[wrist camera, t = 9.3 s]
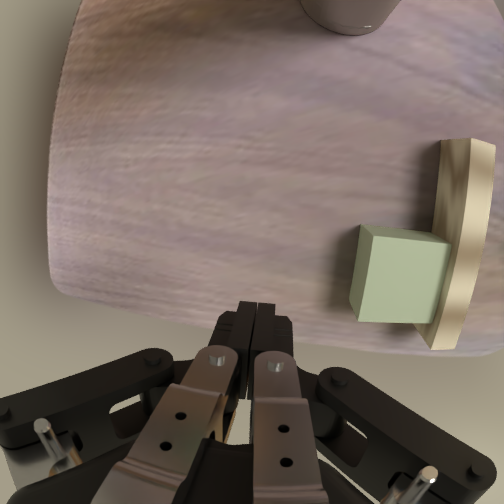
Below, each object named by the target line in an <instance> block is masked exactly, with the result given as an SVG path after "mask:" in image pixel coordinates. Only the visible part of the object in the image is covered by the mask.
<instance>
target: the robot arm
mask: <svg viewBox="0 0 504 504" xmlns="http://www.w3.org/2000/svg"><path fill="white" fill-rule="evenodd" d="M300 1H301V4H302V6H303V8H304V10H305V11H306V13H307V14H308V15H309V16H310V17H311V18H312V19H313V20H314V21H315V22H317V23H318V24H320V25H321V26H323V27H325V28H326V29H329V30H331V31H334V32H337V33H341V34H345V35H362V34H367V33H370V32H373V31H374V30H376V29H378V28H379V27H380V26H381V25H382V24H383V23H384V21H385V20H386V19H387V17H388V16H389V15H390V13H391V12H392V11H393V10H394V9H395V7H396V6H397V5H398V3H399V2H400V1H401V0H300ZM247 385H248V393H247V399H248V400H251V411H250V433H249V436H250V437H249V444H242V445H228V444H226V443H227V440H228V437H229V434H230V430H231V427H232V424H233V421H234V418H235V414H236V408H237V405H238V401H239V399H245V397H246V391H247ZM138 394H139V395H140V400H141V401H139V402H136V403H134V404H132V405H129V406H127V407H125V408H122V409H120V410H118V411H115V412H113V413H111V414H109V411H110V409H111V408H112V406H114V405H115V404H117V403H119V402H122V401H124V400H127V399H128V398H131V397H134V396H136V395H138ZM347 421H348V422H349V423H351V424H352V425H353V426H355V427H356V428H357V429H359V430H360V431H361V432H362V433H364V434H365V436H366V437H367V439H366V438H365V437H364V436H362V435H361V434H360V433H359V432H357V431H356V430H355V429H353V428H352V427H351V426H350V425H348V424H347ZM0 447H1V449H2V450H3V452H4V454H5V457H6V461H7V464H8V467H9V470H10V472H11V475H12V478H13V481H14V484H15V486H16V489H17V491H16V492H15V493H14V494H13V495H12V496H11V498H10V499H9V500H8V502H7V504H374V503H373V502H372V501H371V500H369V499H368V498H367V497H366V496H365V495H364V494H363V493H361V492H360V491H359V490H358V489H357V488H356V487H355V486H353V485H352V484H351V483H350V482H349V481H348V480H347V479H346V478H345V477H344V476H343V475H341V474H340V473H339V472H338V471H337V470H336V469H335V468H333V467H332V466H331V465H329V464H328V463H326V462H324V461H322V460H320V459H318V457H317V451H316V449H317V450H318V451H319V452H320V453H321V454H323V455H324V456H325V457H326V458H327V459H328V460H329V461H331V462H332V463H333V464H334V465H335V466H336V467H337V468H339V469H340V470H341V471H342V472H343V473H344V474H346V475H347V476H348V477H349V478H350V479H352V480H353V481H354V482H355V483H356V484H358V485H359V486H360V487H361V488H363V489H364V490H365V491H366V492H367V493H369V494H370V495H371V496H373V497H374V498H375V499H376V500H378V501H379V502H380V504H474V503H475V502H476V501H477V500H478V499H479V498H480V497H481V496H482V495H483V494H484V493H485V492H486V491H487V490H488V489H489V488H490V487H491V486H492V485H493V483H494V482H495V480H496V476H497V471H496V467H495V465H494V463H493V462H492V460H491V459H489V458H488V457H487V456H485V455H483V454H482V453H480V452H478V451H477V450H475V449H473V448H472V447H470V446H468V445H467V444H465V443H463V442H462V441H459V440H458V439H457V438H455V437H453V436H452V435H450V434H448V433H447V432H445V431H444V430H442V429H440V428H439V427H437V426H436V425H434V424H432V423H431V422H429V421H427V420H426V419H424V418H423V417H421V416H419V415H418V414H416V413H415V412H413V411H412V410H410V409H408V408H407V407H405V406H404V405H402V404H401V403H399V402H398V401H396V400H395V399H393V398H392V397H390V396H389V395H387V394H386V393H384V392H382V391H381V390H380V389H378V388H376V387H375V386H373V385H372V384H370V383H369V382H367V381H366V380H364V379H363V378H361V377H360V376H358V375H357V374H356V373H354V372H352V371H351V370H349V369H346V368H342V367H330V368H327V369H324V370H323V371H322V372H320V374H319V375H316V374H312V373H309V372H306V371H304V370H302V369H300V368H299V367H298V366H297V365H296V361H295V359H294V358H293V331H292V322H291V321H290V319H289V318H288V317H287V316H277V315H275V304H270V303H258V308H257V302H247V301H240V302H239V306H238V309H237V312H233V311H226V312H224V313H223V314H222V315H220V316H219V318H218V321H217V324H216V326H215V329H214V331H213V334H212V337H211V339H210V342H209V344H208V346H207V347H204V348H202V349H201V350H200V351H199V352H198V353H197V355H196V357H195V359H192V360H185V361H173V356H172V355H171V354H170V353H169V352H168V351H166V350H163V349H159V348H148V349H145V350H141V351H139V352H136V353H133V354H131V355H128V356H125V357H122V358H120V359H117V360H114V361H112V362H109V363H106V364H103V365H100V366H98V367H95V368H92V369H89V370H86V371H84V372H81V373H78V374H75V375H72V376H69V377H66V378H63V379H60V380H57V381H54V382H51V383H48V384H45V385H42V386H39V387H36V388H33V389H29V390H26V391H23V392H20V393H16V394H13V395H10V396H6V397H3V398H0Z"/></svg>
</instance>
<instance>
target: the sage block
mask: <svg viewBox="0 0 504 504" xmlns="http://www.w3.org/2000/svg"><path fill="white" fill-rule="evenodd" d="M451 246H452V244H450V243H449V242H447V241H445V240H443V239H442V238H440V237H438V236H436V235H435V234H433V233H431V232H424V231H415V230H407V229H399V228H390V227H381V226H372V225H362V224H361V225H360V233H359V240H358V247H357V254H356V260H355V266H354V273H353V279H352V284H351V290H350V295H349V301H350V304H351V306H352V308H353V311H354V313H355V316H356V318H357V320H358V321H362V322H388V323H432V322H433V319H434V315H435V312H436V309H437V305H438V301H439V298H440V294H441V290H442V286H443V282H444V278H445V274H446V270H447V265H448V261H449V256H450V251H451Z"/></svg>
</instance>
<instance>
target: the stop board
mask: <svg viewBox="0 0 504 504" xmlns="http://www.w3.org/2000/svg"><path fill="white" fill-rule="evenodd" d="M495 147H496V146H495V145H492V144H489V143H486V142H483V141H479V140H476V139H473V138H463V139H449V140H441V147H440V163H439V175H438V185H437V194H436V203H435V210H434V218H433V224H432V231H431V233H433V234H435V235H436V236H438V237H440V238H442V239H443V240H445V241H447V242H449V243H450V244H452V246H451V251H450V256H449V261H448V265H447V270H446V274H445V278H444V282H443V286H442V290H441V294H440V298H439V301H438V305H437V309H436V312H435V315H434V319H433V322H432V323H413V325H414V326H415V327H416V329H417V330H418V332H419V333H420V335H421V336H422V338H423V339H424V341H425V342H426V344H427V345H428V347H429V348H430V350H442V349H454V348H455V346H456V343H457V340H458V337H459V335H460V332H461V329H462V326H463V323H464V320H465V317H466V313H467V310H468V307H469V303H470V300H471V297H472V293H473V289H474V286H475V282H476V278H477V274H478V270H479V265H480V261H481V257H482V252H483V247H484V242H485V237H486V231H487V225H488V219H489V212H490V205H491V197H492V188H493V178H494V166H495Z"/></svg>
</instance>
